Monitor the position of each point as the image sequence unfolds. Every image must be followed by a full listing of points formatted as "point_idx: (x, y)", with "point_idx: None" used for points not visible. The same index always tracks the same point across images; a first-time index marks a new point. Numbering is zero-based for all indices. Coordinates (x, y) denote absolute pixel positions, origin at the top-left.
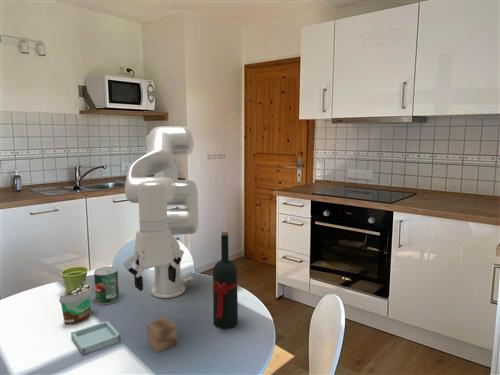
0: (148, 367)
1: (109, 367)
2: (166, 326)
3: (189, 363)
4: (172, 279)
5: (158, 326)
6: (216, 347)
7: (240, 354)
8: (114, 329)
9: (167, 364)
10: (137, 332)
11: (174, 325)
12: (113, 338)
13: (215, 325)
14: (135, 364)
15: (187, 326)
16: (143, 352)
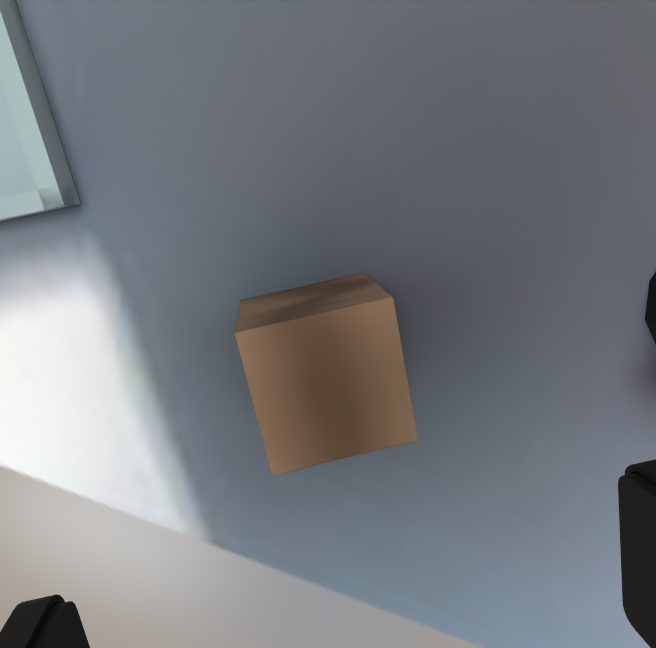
0: (198, 517)
1: (2, 440)
2: (354, 429)
3: (385, 560)
4: (653, 639)
5: (304, 406)
6: (548, 496)
7: (608, 583)
8: (23, 99)
9: (290, 529)
10: (201, 141)
11: (407, 439)
12: (15, 216)
13: (650, 310)
14: (140, 469)
15: (511, 229)
16: (198, 384)
